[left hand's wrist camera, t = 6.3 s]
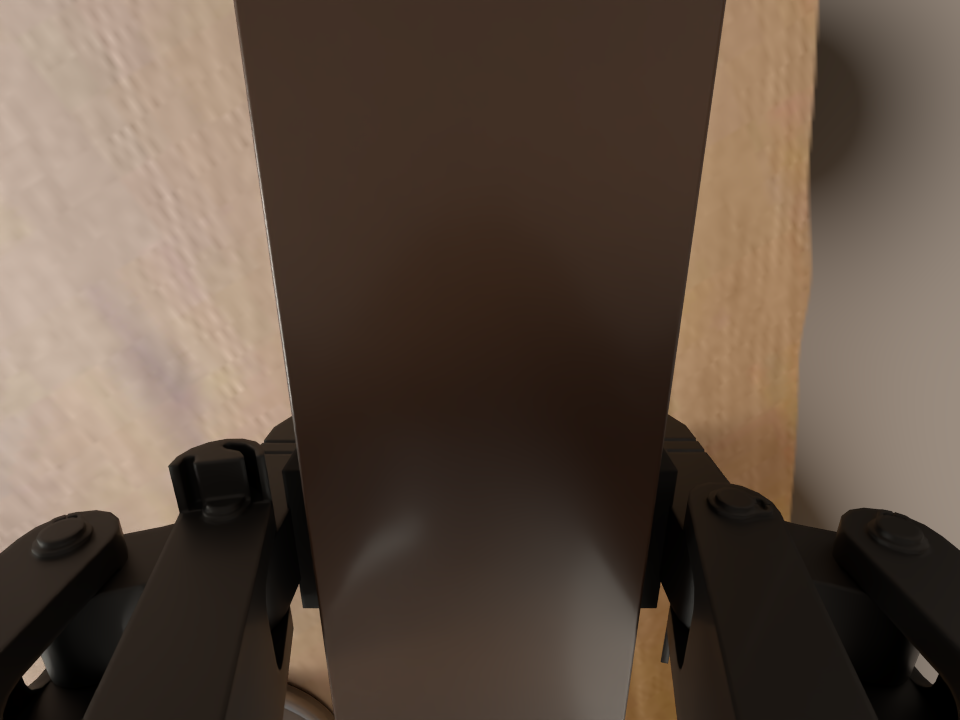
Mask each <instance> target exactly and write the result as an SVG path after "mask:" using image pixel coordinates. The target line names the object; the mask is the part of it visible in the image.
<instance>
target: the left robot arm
mask: <svg viewBox="0 0 960 720" xmlns="http://www.w3.org/2000/svg"><path fill="white" fill-rule="evenodd" d="M168 467H169V471H170V475H171V479H172V483H173V487H174V491H175V495H176V499H177V504H178V508H179V512H180V514H179V516H178V518H177V520H176V522H175V524H171V525H167V526H163V527H158V528H153V529H148V530H143V531H138V532H133V533H128V534H123V532H122V528H121V525H120V521H119V518H117V517H116V516H115V515H113V514H112V513H111V512H105V511H98V510H94V511H84V512H75V513H70V514H68V515H63V516H60V517H57V518H54V519H52V520H51V521H49V522H47V523H44V524H42V525H40V526H38V527H36V528H34V529H33V530H31V531H29V532H28V533H26V534H25V535H23V536H22V537H20V538H19V539H17V540H16V541H15V542H14V543H13V544H11V545H10V546H9V547H8V548H6V549H5V550H4V551H3V552H2V553H0V720H335V717H334V715H333V714H332V713H331V712H330V711H329V710H328V709H327V708H326V707H325V706H324V705H323V704H321V703H320V702H319V701H318V700H316V699H315V698H313V697H312V696H310V695H309V694H307V693H305V692H303V691H301V690H299V689H297V688H295V687H293V686H291V685H288V684H287V680H288V671H289V663H290V654H291V645H292V637H293V622H292V615H291V609H290V604H291V601H292V599H293V597H294V594H295V592H296V590H297V587H298V585H300V592H301V598H302V605H303V608H319V604H318V597H317V590H316V582H315V575H314V568H313V561H312V554H311V547H310V540H309V533H308V526H307V519H306V511H305V504H304V497H303V490H302V483H301V476H300V469H299V462H298V455H297V447H296V440H295V433H294V426H293V419H292V416H291V417H290V418H288V419H287V420H285V421H283V422H282V423H280V424H279V425H277V426H275V427H274V428H273V429H272V431H271V432H270V433H269V435H268V436H267V437H266V439H265V440H264V443H262V444H261V445H260V444H258V443H257V442H256V441H251V440H247V439H224V440H218V441H213V442H208V443H205V444H203V445H200V446H197V447H194V448H191V449H190V450H188V451H186V452H184V453H183V454H181V455H179V456H178V457H176V458H175V460H174V461H173V462H172V463H171V464H170V465H169V466H168ZM660 583H662V585H663V588H664V590H665V593H666V595H667V597H668V600H669V602H670V609H669V615H668V621H667V627H666V633H665V639H664V645H663V651H662V658H661V662H662V663H667V664H668V660H669V655H670V661H671V670H672V679H673V687H674V696H675V704H676V713H677V720H960V550H958V549H957V548H956V547H955V546H954V545H952V544H951V543H950V542H949V541H947V540H946V539H945V538H944V537H943V536H941V535H939V534H938V533H936V532H935V531H933V530H932V529H930V528H929V527H927V526H926V525H924V524H922V523H919V522H917V521H915V520H913V519H910V518H909V517H907V516H905V515H902V514H899V513H896V512H895V513H893V512H892V511H888V510H883V509H870V508H859V509H853V510H849V511H848V512H846V513H845V514H844V515H842V516H841V520H840V523H839V527H838V530H837V532H834V531H829V530H824V529H818V528H813V527H808V526H803V525H798V524H794V523H790V522H786V521H784V519H783V517H782V515H781V513H780V511H779V510H778V509H777V508H776V506H775V505H774V504H773V503H772V502H771V501H770V500H768V499H767V498H765V497H764V496H762V495H761V494H759V493H758V492H755V491H753V490H750V489H748V488H745V487H743V486H739V485H735V484H730V483H729V481H728V480H727V479H726V477H725V476H724V475H723V473H722V472H721V471H720V469H719V468H718V467H717V466H716V464H715V463H714V462H713V460H712V459H711V458H710V456H709V455H708V454H707V453H706V452H704V449H703V447H702V446H701V445H700V443H699V442H698V441H696V438H695V437H694V436H693V434H692V433H691V432H690V430H689V429H688V428H687V426H686V425H684V424H683V423H681V422H679V421H678V420H676V419H675V418H673V417H671V416H670V415H668V416H667V423H666V430H665V437H664V444H663V451H662V458H661V465H660V472H659V479H658V487H657V494H656V501H655V508H654V515H653V522H652V529H651V536H650V543H649V550H648V558H647V565H646V572H645V579H644V586H643V593H642V600H641V607H640V608H657V602H658V596H659V589H660ZM919 653H921V655H922V656H923V657H924V658H925V659H926V660H927V661H928V662H929V663H930V665H931V666H932V667H933V668H934V669H935V670H936V671H937V672H938V673H939V675H938V677H937V679H936V682H935V683H934V684H931V683H930V682H929V681H928V680H927V679H925V678H924V677H923V676H922V674H921V673H920V672H919V671H918V670H917V669H916V667H915V666H914V665H915V663H916V660H917V658H918V656H919ZM40 656H41V657H42V659H43V662H44V664H45V667H46V669H45V670H44V671H43V672H42V674H41V675H40V676H39V677H38V678H37V679H36V680H35V681H34V682H33V683H31V684H30V685H29V686H27V685H25V683H24V681H23V678H22V676H23V675H24V674H25V673H26V671H27V670H28V669H29V668H30V667H31V666H32V665H33V664H34V663H35V661H36V660H37V659H38V658H39V657H40Z"/></svg>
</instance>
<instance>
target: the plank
mask: <svg viewBox="0 0 960 720" xmlns="http://www.w3.org/2000/svg"><path fill="white" fill-rule="evenodd" d="M725 4H726V0H234V7H235V14H236V21H237V28H238V35H239V42H240V50H241V57H242V64H243V71H244V78H245V85H246V92H247V99H248V106H249V114H250V121H251V128H252V135H253V142H254V149H255V156H256V163H257V170H258V177H259V185H260V192H261V199H262V206H263V213H264V220H265V227H266V234H267V241H268V249H269V256H270V263H271V270H272V277H273V284H274V291H275V298H276V305H277V312H278V320H279V327H280V334H281V341H282V348H283V355H284V362H285V369H286V376H287V384H288V391H289V398H290V405H291V412H292V419H293V426H294V433H295V440H296V447H297V455H298V462H299V469H300V476H301V483H302V490H303V497H304V504H305V511H306V519H307V526H308V533H309V540H310V547H311V554H312V561H313V568H314V575H315V582H316V590H317V597H318V604H319V611H320V618H321V625H322V632H323V639H324V646H325V654H326V661H327V668H328V675H329V682H330V689H331V696H332V703H333V710H334V717H335V720H625V714H626V707H627V700H628V692H629V685H630V678H631V671H632V664H633V657H634V650H635V643H636V636H637V629H638V621H639V614H640V607H641V600H642V593H643V586H644V579H645V572H646V565H647V558H648V550H649V543H650V536H651V529H652V522H653V515H654V508H655V501H656V494H657V487H658V479H659V472H660V465H661V458H662V451H663V444H664V437H665V430H666V423H667V416H668V409H669V401H670V394H671V387H672V380H673V373H674V366H675V359H676V352H677V345H678V338H679V330H680V323H681V316H682V309H683V302H684V295H685V288H686V281H687V274H688V267H689V259H690V252H691V245H692V238H693V231H694V224H695V217H696V210H697V203H698V196H699V188H700V181H701V174H702V167H703V160H704V153H705V146H706V139H707V132H708V125H709V117H710V110H711V103H712V96H713V89H714V82H715V75H716V68H717V61H718V54H719V46H720V39H721V32H722V25H723V18H724V11H725Z"/></svg>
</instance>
